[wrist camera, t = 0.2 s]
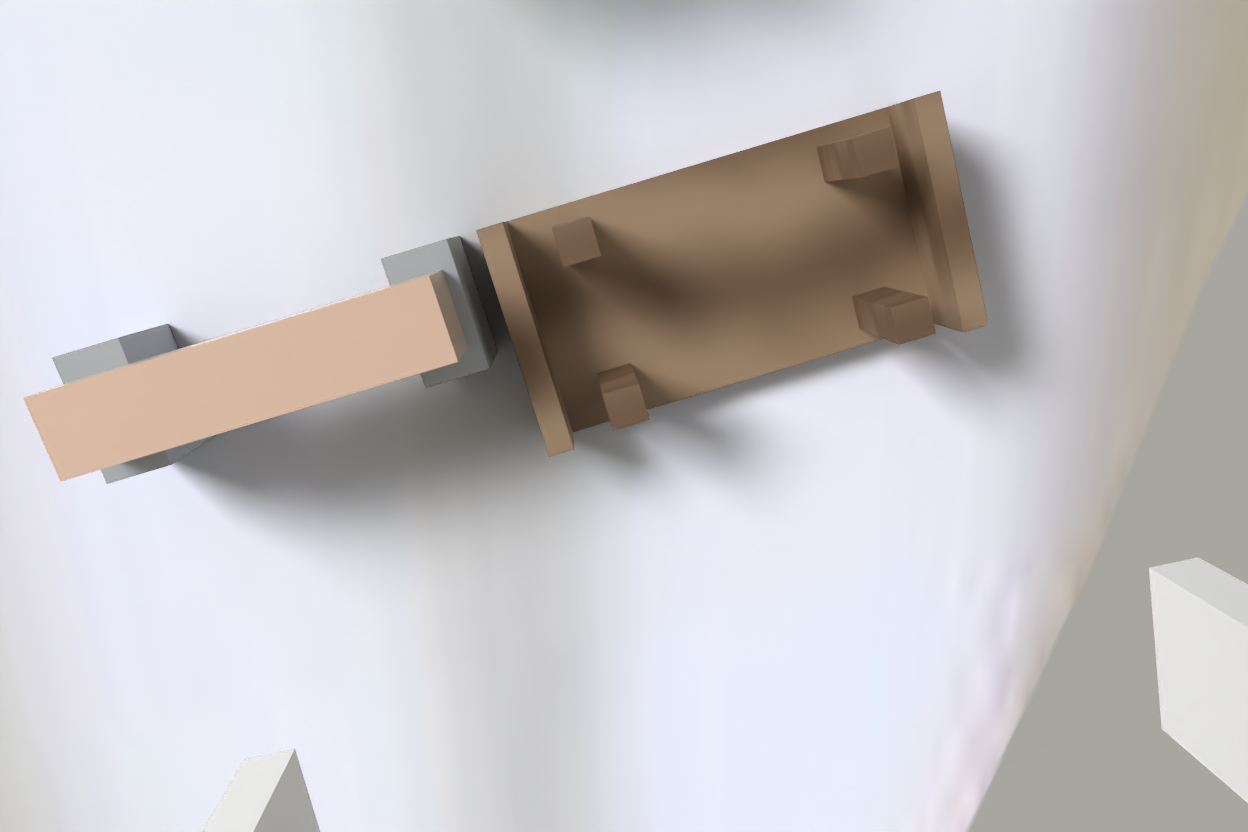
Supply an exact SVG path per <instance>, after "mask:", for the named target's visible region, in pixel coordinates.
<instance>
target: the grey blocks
mask: <svg viewBox="0 0 1248 832" xmlns="http://www.w3.org/2000/svg"><path fill="white" fill-rule="evenodd" d="M381 261H382V264H383V267H384V270H385V273H386V276H387V278H388V281H389V284H390V285H393V284H396V283H399V282H403V281H406V280H409V279H413V278H416V277H419V276H423V275H426V274H429V273H433V272H436V271H439V270H442V271H443V274H444V277H445V280H446V283H447V286H448V289H449V292H450V295H451V298H452V301H453V304H454V307H455V310H456V313H457V316H458V319H459V322H460V325H461V328H462V331H463V334H464V337H465V340H466V343H467V346H468V348H467V350H466V351H465V353H464V354H463V356H462V357H461V358H460V360H459V361H458V362H456V363H453V364H449V365H446V366H443V367H439V368H436V369H433V370H429V371H426V372H423V373H421V376H422V379H423V382H424V385H425V388H427V387H431V386H434V385H437V384H441V383H444V382H447V381H451V380H454V379H457V378H461V377H464V376H467V375H471V374H474V373H477V372H481V371H484V370H487V369H490V366H491V364H492V362H493V360H494V358H495V356H496V354H497V349H496V346H495V343H494V340H493V337H492V334H491V331H490V328H489V325H488V321H487V318H486V315H485V312H484V309H483V306H482V303H481V300H480V297H479V294H478V291H477V288H476V285H475V282H474V279H473V276H472V273H471V269H470V266H469V263H468V260H467V257H466V254H465V251H464V248H463V245H462V242H461V239H460V236H458V237H453V238H449V239H445V240H442V241H439V242H435V243H432V244H429V245H425V246H422V247H419V248H415V249H412V250H409V251H405V252H402V253H399V254H395V255H392V256H389V257H385V258H382V259H381ZM177 349H178V347H177V345H176V342H175V340H174V337H173V335H172V332H171V330H170V327H169V325H168V324H165V325H162V326H158V327H155V328H151V329H148V330H144V331H141V332H137V333H134V334H130V335H127V336H123V337H120V338H116V339H113V340H109V341H106V342H103V343H100V344H96V345H93V346H90V347H86V348H83V349H80V350H76V351H73V352H70V353H66V354H63V355H60V356H56V357H53V358H52V359H53V361H54V363H55V366H56V368H57V370H58V373H59V375H60V377H61V379H62V382H63V384H65V383H68V382H71V381H74V380H77V379H80V378H84V377H87V376H90V375H94V374H97V373H100V372H104V371H107V370H110V369H114V368H117V367H120V366H124V365H127V364H130V363H134V362H137V361H140V360H144V359H147V358H150V357H154V356H157V355H160V354H164V353H167V352H170V351H173V350H177ZM213 437H214V436H210V437H207V438H203V439H200V440H197V441H193V442H190V443H187V444H184V445H180V446H177V447H174V448H170V449H167V450H164V451H160V452H157V453H154V454H150V455H147V456H144V457H140V458H137V459H134V460H130V461H127V462H124V463H120V464H117V465H114V466H110V467H107V468H104V469H101V471H102V473H103V476H104V478H105V480H106V483H107V484H108V483H112V482H115V481H118V480H122V479H125V478H128V477H132V476H135V475H138V474H142V473H145V472H148V471H152V470H155V469H158V468H162V467H165V466H168V465H171V464H173V463H174V462H176V461H177V460H179V459H180V458H182V457H184V456H185V455H187V454H188V453H190V452H191V451H193V450H194V449H196V448H197V447H199V446H201V445H202V444H204V443H205V442H207V441H208V440H210V439H211V438H213Z"/></svg>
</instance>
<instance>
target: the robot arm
mask: <svg viewBox="0 0 1248 832" xmlns="http://www.w3.org/2000/svg"><path fill="white" fill-rule="evenodd" d="M1149 574H1150V587H1151V599H1152V612H1153V624H1154V637H1155V649H1156V660H1157V661H1156V662H1157V674H1158V687H1159V698H1160V712H1161V725H1162V730H1164V731H1165V732H1166V733H1167V734H1168V735H1169V736H1171V737H1172V738H1173V739H1174V740H1175V741H1176V742H1178V743H1179V744H1180V745H1181V746H1182V747H1183V748H1185V749H1186V750H1187V751H1188V752H1189V753H1190V754H1192V755H1193V756H1194V757H1195V758H1196V759H1197V760H1199V761H1200V762H1201V763H1202V764H1203V765H1204V766H1206V767H1207V768H1208V769H1209V770H1210V771H1211V772H1212V773H1214V774H1215V775H1216V776H1217V777H1218V778H1219V779H1221V780H1222V781H1223V782H1224V783H1225V784H1226V785H1228V786H1229V787H1230V788H1231V789H1232V790H1233V791H1235V792H1236V793H1237V794H1238V795H1239V796H1240V797H1241V798H1243V799H1244V800H1245V801H1246V802H1247V803H1248V584H1246V583H1244V582H1242V581H1240V580H1238V579H1237V578H1235V577H1233V576H1231V575H1229V574H1228V573H1226V572H1224V571H1222V570H1220V569H1218V568H1216V567H1215V566H1213V565H1211V564H1209V563H1207V562H1205V561H1203V560H1202V559H1200V558H1193V559H1188V560H1184V561H1179V562H1174V563H1170V564H1165V565H1160V566H1156V567H1151V568H1149ZM202 832H320V830H319V827H318V823H317V820H316V817H315V814H314V810H313V807H312V804H311V800H310V797H309V794H308V791H307V787H306V784H305V781H304V777H303V774H302V771H301V768H300V764H299V761H298V758H297V754H296V751H295V749H292V750H288V751H283V752H278V753H274V754H269V755H264V756H259V757H255V758H250V759H245V760H244V761H243V762H242V764H241V766H240V768H239V769H238V771H237V773H236V774H235V776H234V778H233V779H232V781H231V783H230V785H229V786H228V788H227V790H226V791H225V793H224V795H223V797H222V798H221V800H220V802H219V803H218V805H217V807H216V809H215V810H214V812H213V814H212V815H211V817H210V819H209V820H208V822H207V824H206V826H205V827H204V829H203V831H202Z"/></svg>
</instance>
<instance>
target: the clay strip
mask: <svg viewBox="0 0 1248 832" xmlns="http://www.w3.org/2000/svg"><path fill="white" fill-rule="evenodd" d="M467 348H468V346H467V343H466V340H465V337H464V334H463V331H462V328H461V325H460V322H459V319H458V316H457V313H456V310H455V307H454V304H453V301H452V298H451V295H450V292H449V289H448V286H447V283H446V280H445V277H444V274H443V271H442V270H439V271H436V272H433V273H429V274H426V275H423V276H419V277H416V278H413V279H409V280H406V281H403V282H399V283H396V284H393V285H390V286H386V287H383V288H380V289H376V290H373V291H370V292H366V293H363V294H360V295H356V296H353V297H350V298H346V299H343V300H340V301H336V302H333V303H330V304H326V305H323V306H320V307H316V308H313V309H310V310H306V311H303V312H300V313H296V314H293V315H290V316H286V317H283V318H280V319H277V320H273V321H270V322H267V323H263V324H260V325H257V326H253V327H250V328H247V329H243V330H240V331H237V332H233V333H230V334H227V335H223V336H220V337H217V338H213V339H210V340H207V341H203V342H200V343H197V344H193V345H190V346H187V347H183V348H180V349H177V350H173V351H170V352H167V353H164V354H160V355H157V356H154V357H150V358H147V359H144V360H140V361H137V362H134V363H130V364H127V365H124V366H120V367H117V368H114V369H110V370H107V371H104V372H100V373H97V374H94V375H90V376H87V377H84V378H80V379H77V380H74V381H71V382H68V383H65V384H62V385H60V386H57V387H54V388H51V389H48V390H45V391H42V392H39V393H36V394H33V395H31V396H28V397H25V398H24V401H25V403H26V405H27V407H28V410H29V412H30V414H31V416H32V419H33V421H34V423H35V425H36V427H37V430H38V432H39V434H40V436H41V439H42V441H43V443H44V445H45V448H46V450H47V452H48V454H49V456H50V459H51V461H52V463H53V465H54V468H55V470H56V472H57V474H58V477H59V479H60V481H64V480H67V479H71V478H74V477H77V476H80V475H84V474H87V473H90V472H94V471H97V470H100V469H104V468H107V467H110V466H114V465H117V464H120V463H124V462H127V461H130V460H134V459H137V458H140V457H144V456H147V455H150V454H154V453H157V452H160V451H164V450H167V449H170V448H174V447H177V446H180V445H184V444H187V443H190V442H193V441H197V440H200V439H203V438H207V437H210V436H213V435H217V434H220V433H223V432H227V431H230V430H233V429H237V428H240V427H243V426H247V425H250V424H253V423H257V422H260V421H263V420H267V419H270V418H273V417H277V416H280V415H283V414H287V413H290V412H293V411H297V410H300V409H303V408H306V407H310V406H313V405H316V404H320V403H323V402H326V401H330V400H333V399H336V398H340V397H343V396H346V395H350V394H353V393H356V392H360V391H363V390H366V389H370V388H373V387H376V386H380V385H383V384H386V383H390V382H393V381H396V380H400V379H403V378H406V377H410V376H413V375H416V374H420V373H423V372H426V371H429V370H433V369H436V368H439V367H443V366H446V365H449V364H453V363H456V362H458V361H459V360H460V358H461V357H462V356H463V354H464V353H465V351H466V350H467Z"/></svg>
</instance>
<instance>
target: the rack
mask: <svg viewBox="0 0 1248 832" xmlns="http://www.w3.org/2000/svg"><path fill="white" fill-rule="evenodd" d="M476 231H477V235H478V238H479V241H480V244H481V247H482V250H483V253H484V256H485V259H486V262H487V266H488V269H489V272H490V275H491V278H492V281H493V284H494V287H495V290H496V293H497V297H498V300H499V303H500V306H501V309H502V312H503V315H504V318H505V321H506V324H507V328H508V331H509V334H510V337H511V340H512V343H513V346H514V349H515V352H516V355H517V359H518V362H519V365H520V368H521V371H522V374H523V377H524V380H525V383H526V386H527V390H528V393H529V396H530V399H531V402H532V405H533V408H534V411H535V414H536V417H537V421H538V424H539V427H540V430H541V433H542V436H543V439H544V442H545V445H546V448H547V452H548V455H549V457H550V456H554V455H557V454H560V453H564V452H567V451H570V450H574V441H573V432H574V431H578V430H581V429H584V428H588V427H591V426H594V425H598V424H601V423H604V422H608V421H610V422H611V425H612V428H613V430H616V429H620V428H623V427H626V426H630V425H633V424H636V423H640V422H643V421H646V420H650V419H649V416H648V412H647V410H648V409H651V408H654V407H658V406H661V405H664V404H668V403H671V402H674V401H678V400H681V399H684V398H688V397H691V396H694V395H697V394H701V393H704V392H707V391H711V390H714V389H717V388H721V387H724V386H727V385H731V384H734V383H737V382H741V381H744V380H747V379H751V378H754V377H757V376H761V375H764V374H767V373H771V372H774V371H777V370H781V369H784V368H787V367H791V366H794V365H797V364H801V363H804V362H807V361H810V360H814V359H817V358H820V357H824V356H827V355H830V354H834V353H837V352H840V351H844V350H847V349H850V348H854V347H857V346H860V345H864V344H867V343H870V342H874V341H877V340H880V339H887V340H890V341H892V342H895V343H897V344H902V343H906V342H909V341H912V340H916V339H919V338H922V337H926V336H929V335H932V334H935V333H936V332H935V327H934V323H935V324H938V325H941V326H945V327H948V328H951V329H955V330H958V331H961V332H966V331H969V330H973V329H976V328H979V327H983V326H986V325H988V321H987V316H986V311H985V306H984V301H983V296H982V292H981V287H980V282H979V277H978V272H977V267H976V262H975V257H974V253H973V248H972V243H971V238H970V233H969V228H968V223H967V219H966V214H965V209H964V204H963V199H962V194H961V189H960V185H959V180H958V175H957V170H956V165H955V160H954V155H953V151H952V146H951V141H950V136H949V131H948V126H947V121H946V117H945V112H944V107H943V102H942V97H941V92H940V91H937V92H934V93H931V94H927V95H924V96H921V97H917V98H914V99H911V100H908V101H905V102H902V103H899V104H896V105H892V106H889V107H886V108H883V109H880V110H876V111H873V112H870V113H866V114H863V115H860V116H856V117H853V118H850V119H846V120H843V121H840V122H836V123H833V124H830V125H826V126H823V127H820V128H816V129H813V130H810V131H806V132H803V133H800V134H796V135H793V136H790V137H786V138H783V139H780V140H776V141H773V142H770V143H767V144H763V145H760V146H757V147H753V148H750V149H747V150H743V151H740V152H737V153H733V154H730V155H727V156H723V157H720V158H717V159H713V160H710V161H707V162H703V163H700V164H697V165H693V166H690V167H687V168H683V169H680V170H677V171H673V172H670V173H667V174H663V175H660V176H657V177H654V178H650V179H647V180H644V181H640V182H637V183H634V184H630V185H627V186H624V187H620V188H617V189H614V190H610V191H607V192H604V193H600V194H597V195H594V196H590V197H587V198H584V199H580V200H577V201H574V202H570V203H567V204H564V205H560V206H557V207H554V208H550V209H547V210H544V211H540V212H537V213H534V214H531V215H527V216H524V217H521V218H517V219H514V220H511V221H507V222H502V223H499V224H495V225H492V226H489V227H485V228H482V229H479V230H476Z"/></svg>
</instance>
